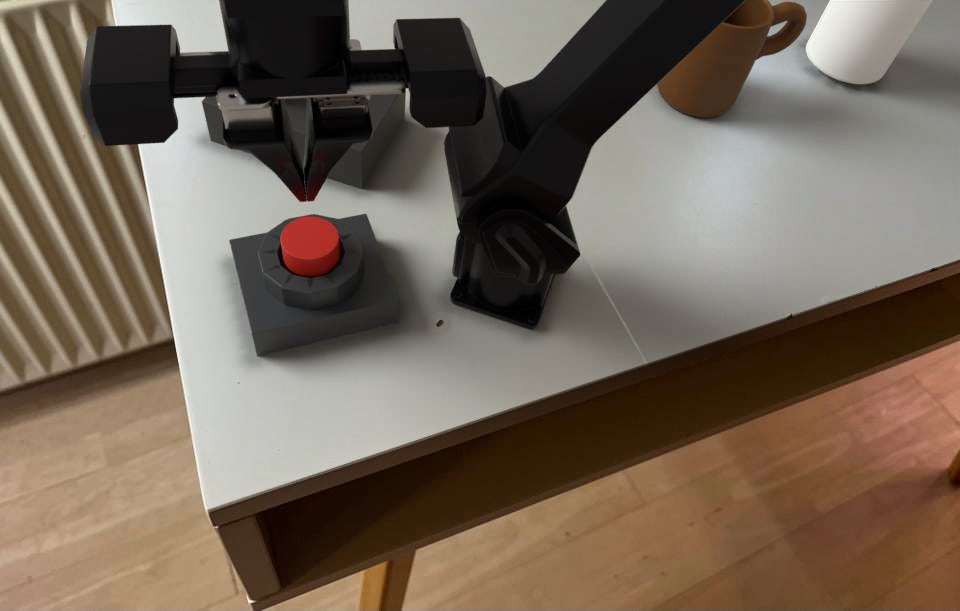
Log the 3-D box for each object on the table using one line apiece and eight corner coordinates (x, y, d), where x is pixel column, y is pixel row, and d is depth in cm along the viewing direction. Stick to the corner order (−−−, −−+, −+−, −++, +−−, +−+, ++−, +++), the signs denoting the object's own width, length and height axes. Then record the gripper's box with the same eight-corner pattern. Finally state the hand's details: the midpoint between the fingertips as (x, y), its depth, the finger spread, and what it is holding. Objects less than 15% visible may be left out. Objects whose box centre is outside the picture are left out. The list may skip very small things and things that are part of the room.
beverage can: (886, 96, 73) (964, -17, 64) (806, 79, 73) (871, -37, 64) (875, 49, 78) (945, -63, 69) (799, 33, 78) (859, -81, 69)
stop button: (332, 229, 50) (330, 211, 48) (346, 270, 48) (345, 252, 46) (277, 240, 48) (274, 222, 47) (289, 282, 47) (287, 264, 45)
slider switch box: (404, 121, 63) (406, 80, 60) (362, 190, 58) (361, 149, 54) (264, 77, 64) (258, 35, 61) (210, 141, 59) (200, 99, 56)
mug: (752, 64, 74) (795, -25, 66) (788, 114, 70) (838, 25, 62) (642, 71, 71) (674, -21, 64) (672, 123, 67) (710, 31, 59)
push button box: (366, 238, 55) (366, 195, 51) (398, 323, 51) (400, 283, 47) (234, 264, 52) (224, 221, 48) (257, 357, 48) (247, 317, 44)
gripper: (457, -148, 38) (437, 100, 50) (57, -158, 34) (143, 114, 46) (508, -28, 32) (470, 221, 44) (24, -22, 28) (134, 250, 40)
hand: (306, 196), depth 44 cm, fingers closed
